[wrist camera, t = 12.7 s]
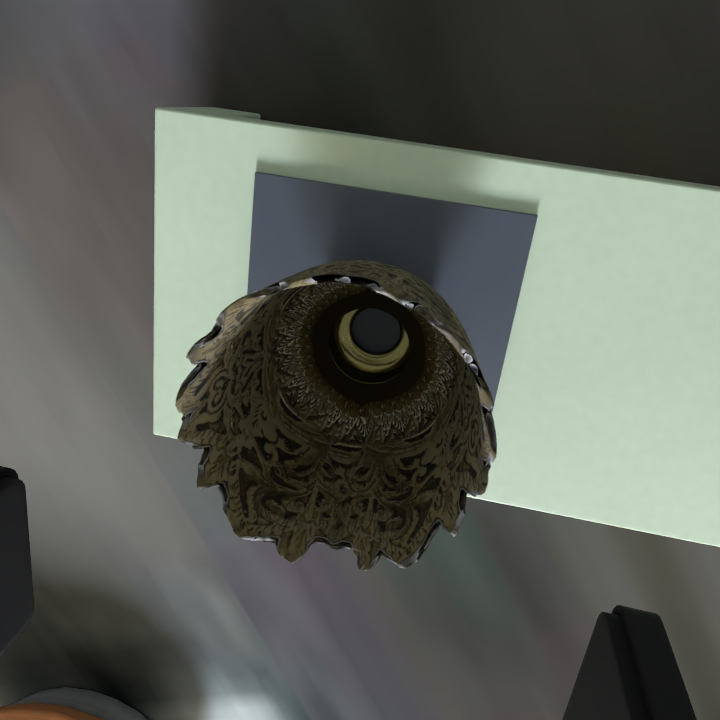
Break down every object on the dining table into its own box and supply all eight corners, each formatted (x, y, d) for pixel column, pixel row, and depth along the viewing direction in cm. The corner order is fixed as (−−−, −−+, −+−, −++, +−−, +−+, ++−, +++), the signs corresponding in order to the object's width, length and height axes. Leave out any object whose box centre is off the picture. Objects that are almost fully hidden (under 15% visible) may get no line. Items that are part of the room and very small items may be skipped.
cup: (264, 408, 24) (171, 543, 16) (276, 205, 21) (170, 258, 14) (467, 443, 23) (465, 602, 16) (507, 237, 20) (529, 312, 13)
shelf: (922, 209, 23) (1042, 237, 18) (791, 495, 27) (859, 578, 22) (211, 106, 25) (151, 107, 20) (201, 384, 30) (150, 437, 25)
